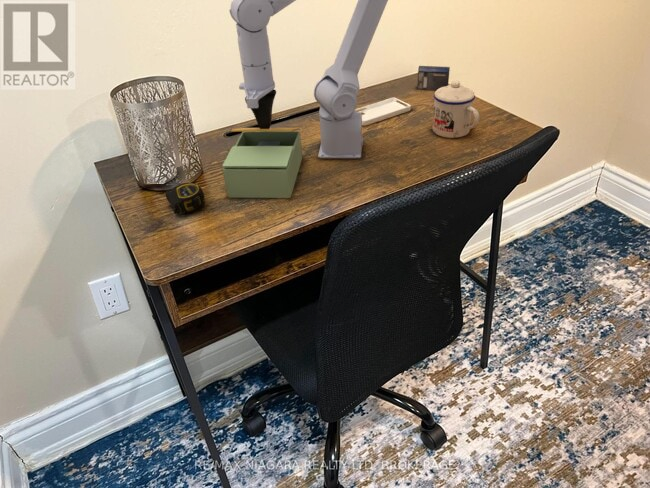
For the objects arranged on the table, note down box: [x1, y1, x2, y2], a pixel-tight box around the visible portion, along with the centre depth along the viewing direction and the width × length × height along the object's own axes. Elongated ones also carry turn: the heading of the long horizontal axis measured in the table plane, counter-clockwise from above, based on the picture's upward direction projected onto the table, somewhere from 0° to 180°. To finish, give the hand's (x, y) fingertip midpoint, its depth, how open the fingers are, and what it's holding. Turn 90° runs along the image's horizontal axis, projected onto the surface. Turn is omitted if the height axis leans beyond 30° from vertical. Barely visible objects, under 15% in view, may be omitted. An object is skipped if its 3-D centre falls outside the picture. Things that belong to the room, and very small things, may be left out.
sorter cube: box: [257, 141, 281, 169], centre depth 111 cm, size 5×5×5 cm
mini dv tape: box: [416, 65, 451, 91], centre depth 141 cm, size 8×2×6 cm, turn 75°
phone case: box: [354, 97, 412, 127], centre depth 131 cm, size 7×1×15 cm
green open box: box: [221, 130, 303, 199], centre depth 108 cm, size 17×13×7 cm
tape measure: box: [164, 182, 205, 216], centre depth 101 cm, size 7×7×4 cm
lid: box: [230, 127, 300, 133], centre depth 108 cm, size 8×13×1 cm, turn 84°
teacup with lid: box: [432, 80, 480, 139], centre depth 118 cm, size 12×9×12 cm
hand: (265, 127), depth 107 cm, fingers closed
